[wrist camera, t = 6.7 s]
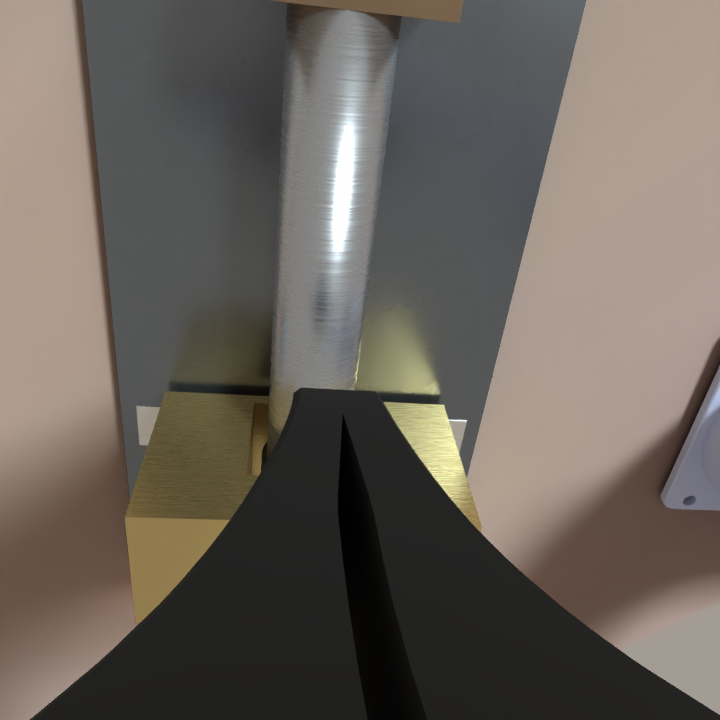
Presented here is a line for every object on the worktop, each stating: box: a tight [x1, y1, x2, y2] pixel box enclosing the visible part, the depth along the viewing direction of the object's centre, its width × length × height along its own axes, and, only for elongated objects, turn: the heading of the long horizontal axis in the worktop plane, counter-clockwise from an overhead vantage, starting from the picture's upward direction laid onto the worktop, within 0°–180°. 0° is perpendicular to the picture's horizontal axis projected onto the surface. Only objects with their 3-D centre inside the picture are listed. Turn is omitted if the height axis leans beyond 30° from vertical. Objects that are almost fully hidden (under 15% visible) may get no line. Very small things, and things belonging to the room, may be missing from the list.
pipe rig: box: [82, 0, 586, 499], centre depth 19 cm, size 12×22×4 cm, turn 174°
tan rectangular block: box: [125, 391, 482, 623], centre depth 20 cm, size 9×4×6 cm, turn 84°
